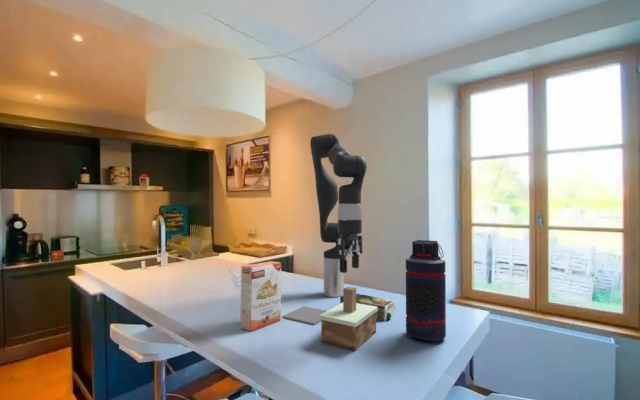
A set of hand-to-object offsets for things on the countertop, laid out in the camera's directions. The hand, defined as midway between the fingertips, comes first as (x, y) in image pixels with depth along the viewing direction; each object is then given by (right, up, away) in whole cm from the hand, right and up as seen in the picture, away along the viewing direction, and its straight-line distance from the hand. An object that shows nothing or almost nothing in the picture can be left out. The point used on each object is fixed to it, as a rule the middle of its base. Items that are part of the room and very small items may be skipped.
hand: (349, 270), depth 101 cm
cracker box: (-30, -21, +11) cm, 38 cm away
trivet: (-14, -21, +20) cm, 32 cm away
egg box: (0, -21, 0) cm, 21 cm away
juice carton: (+9, -22, +23) cm, 33 cm away
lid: (0, -14, 0) cm, 14 cm away
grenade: (+24, -21, +1) cm, 32 cm away
